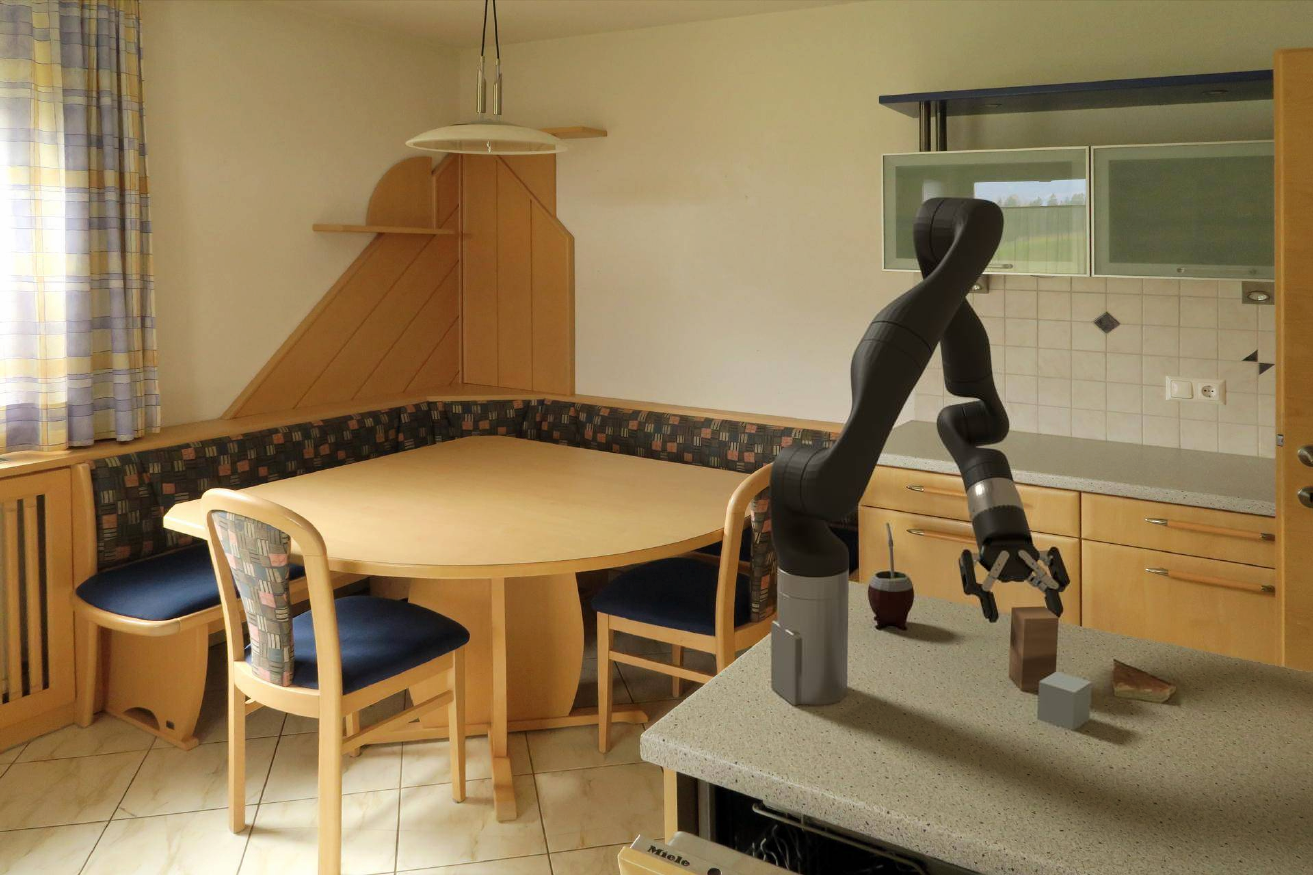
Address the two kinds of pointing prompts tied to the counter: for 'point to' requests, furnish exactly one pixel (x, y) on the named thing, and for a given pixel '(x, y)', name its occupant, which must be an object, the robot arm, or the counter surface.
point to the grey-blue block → (1064, 700)
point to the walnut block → (1032, 646)
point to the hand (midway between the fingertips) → (1025, 619)
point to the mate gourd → (890, 595)
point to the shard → (1139, 684)
